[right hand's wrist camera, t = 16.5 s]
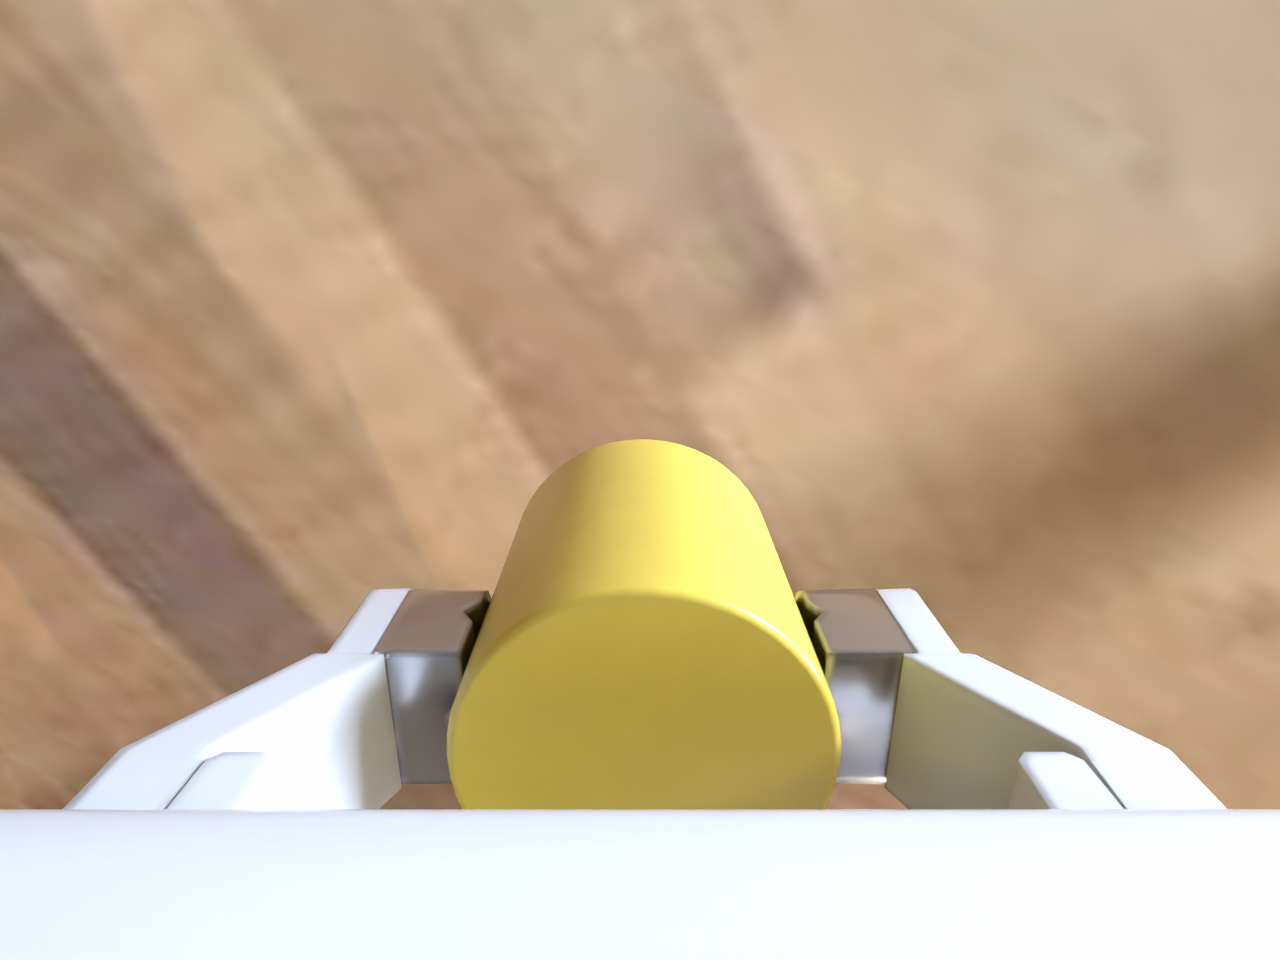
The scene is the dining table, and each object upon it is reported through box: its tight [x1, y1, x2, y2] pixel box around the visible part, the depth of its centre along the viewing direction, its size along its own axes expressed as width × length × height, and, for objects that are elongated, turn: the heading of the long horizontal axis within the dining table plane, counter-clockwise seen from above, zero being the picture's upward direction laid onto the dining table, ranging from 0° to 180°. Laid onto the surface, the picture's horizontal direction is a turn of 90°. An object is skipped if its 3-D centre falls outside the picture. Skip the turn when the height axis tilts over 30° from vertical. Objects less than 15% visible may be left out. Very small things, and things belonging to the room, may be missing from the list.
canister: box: [447, 439, 841, 809], centre depth 10 cm, size 4×4×5 cm
